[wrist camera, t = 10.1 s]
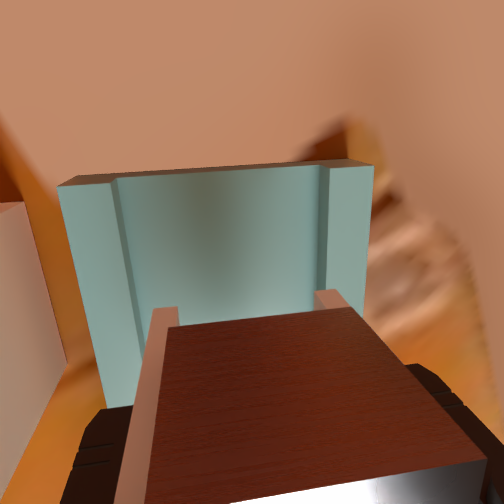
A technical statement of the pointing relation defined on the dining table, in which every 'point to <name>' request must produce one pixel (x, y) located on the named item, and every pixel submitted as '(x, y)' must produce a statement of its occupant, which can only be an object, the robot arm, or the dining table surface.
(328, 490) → the bar
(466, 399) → the dining table surface
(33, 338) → the square socket block
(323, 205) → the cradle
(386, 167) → the dining table surface
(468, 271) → the dining table surface
